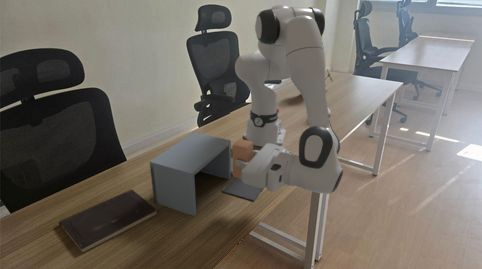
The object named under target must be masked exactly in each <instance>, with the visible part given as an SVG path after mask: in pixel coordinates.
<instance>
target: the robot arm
mask: <svg viewBox="0 0 482 269" xmlns="http://www.w3.org/2000/svg"><path fill="white" fill-rule="evenodd" d="M255 19H256V20H255V25H254V30H255V34H256V38H257V40H258V42H257V46H258V47H257V48H258V51H259V52H258V53H247V54H243V55H239V57H237V59H236V61H235V64H234V71H235V74H236V76H237V77H238V79H239V80H241V81H242V82H244V83H245V85H246V86H247V87H248V90H249V92H250V98H251V100H250V102H251V106H250V107H251V109H250V112H249V119H248V120H247V123H246V130H245V131H246V132H245V133H243V138H244V139H245V140H247V141H252V142H253V146H256V147H262V148H261V149H260V150H258V149H253V159H252V160H251V161H250V162H246V163H245V162H243V161H242V159H239V158H238V159H236V160H235V165H236V166H240V167H241V168H242V171H241V181H242V182H243V183H245V184H247V185H250V186H254V187H258V188H264V189H265V188H266V189H267V192H268V191H269V192H276V191H277V190H279V189H280V188H282V187H284V186H287V185H288V186H290V187H291V186H292V187H294V186H295V187H299V188H301V189H303V190H306V191H309V192H312V193H317V194H318V193H319V194H324V195H329V194H333V192H335V191H336V190H337V189H338V187H339V184H340V183H341V181H342V177H343V174H344V169H343V168H342V166H341V163H340V161H339V157H338V155H339V153H340V149H341V142H340V138H339V137H338V136H337V134H336V132H335V131H334V130H333V127H332V125H331V121H330V115H329V114H328V108H329V107H328V104H327V97H326V94H325V89H326V87H325V84H326V80H325V79H326V71H327V68H326V55H325V54H326V53H325V49H324V43H323V39H322V36H323V35H324V32H325V29H326V18H325V15H324V13H323V11H322V10H321V9H319V8H316V7H311V6H310V7H302V6H301V7H300V6H299V7H298V6H291V7H289V6H288V5H285V4H276V5H274V6H272V7H270V8H269V9H265V10H261V11H260V12H259V13H258V15H257V16H256V18H255ZM287 79H290V80H291V82H292V83H293V84H294V86H295V87H296V89H297V91H299V93H300V95H301V96H302V98H303V101H304V105H305V110H306V114H307V115H306V116H307V121H308V125H309V126H308V128H307V129H305V130H304V131H303V132H302V133H301V135H300V137H299V141H298V155H297V154H296V155H295V154H293V153H292V152H291V150H287V148H285V147H283V146H281V145H283V143H284V141H285V136H286V134H287V130H286V129H285V128H283V122H282V120H281V119H280V118H279V113H280V108H278V94H277V92H276V90H274V89H273V88H270V87H269V86H266V85H265V82H266V81H283V80H287ZM327 107H328V108H327Z"/></svg>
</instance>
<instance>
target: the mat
mask: <svg viewBox="0 0 482 269" xmlns="http://www.w3.org/2000/svg"><path fill="white" fill-rule="evenodd" d="M264 189H265V188H258V187H254V186H250V185H247V184H245V183H243V182H242V181H241V179H240V178H237V177H233V179H232V180H230V181H229V182H228V184H227V185H226V186H225V187H224V188H223V189H222V190H221V192H222V193H224V194H228V195H231V196H235V197H238V198H241V199H244V200H249V201H252V202H255V201H256V199H257V198H258V197H259V195H260V194H261V193H262V192H263V190H264Z"/></svg>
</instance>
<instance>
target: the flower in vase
mask: <svg viewBox="0 0 482 269" xmlns="http://www.w3.org/2000/svg"><path fill="white" fill-rule="evenodd" d="M326 72H327V76H325V81H326V80H327V78H329V79H330V81H331V82H332V83H333V82H334V79H333V77H332V74H331V72H330V70H329V68H326ZM326 87H327V84H326V83H325V95H326V94H327V93H328V91H329V90H328V89H326ZM327 108H328V114H329V116H330V115H331V114H332V112H331V110H330V108H329V107H328V106H327Z"/></svg>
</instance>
